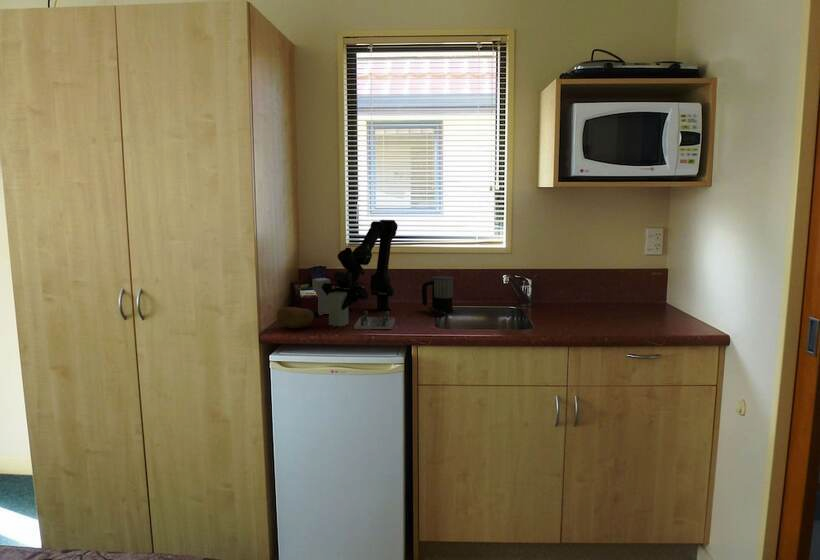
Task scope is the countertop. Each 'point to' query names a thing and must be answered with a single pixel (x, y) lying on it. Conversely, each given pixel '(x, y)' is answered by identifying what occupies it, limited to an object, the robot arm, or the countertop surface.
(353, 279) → the robot arm
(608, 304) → the countertop surface
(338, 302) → the plate
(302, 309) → the potato
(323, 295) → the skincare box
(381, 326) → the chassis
